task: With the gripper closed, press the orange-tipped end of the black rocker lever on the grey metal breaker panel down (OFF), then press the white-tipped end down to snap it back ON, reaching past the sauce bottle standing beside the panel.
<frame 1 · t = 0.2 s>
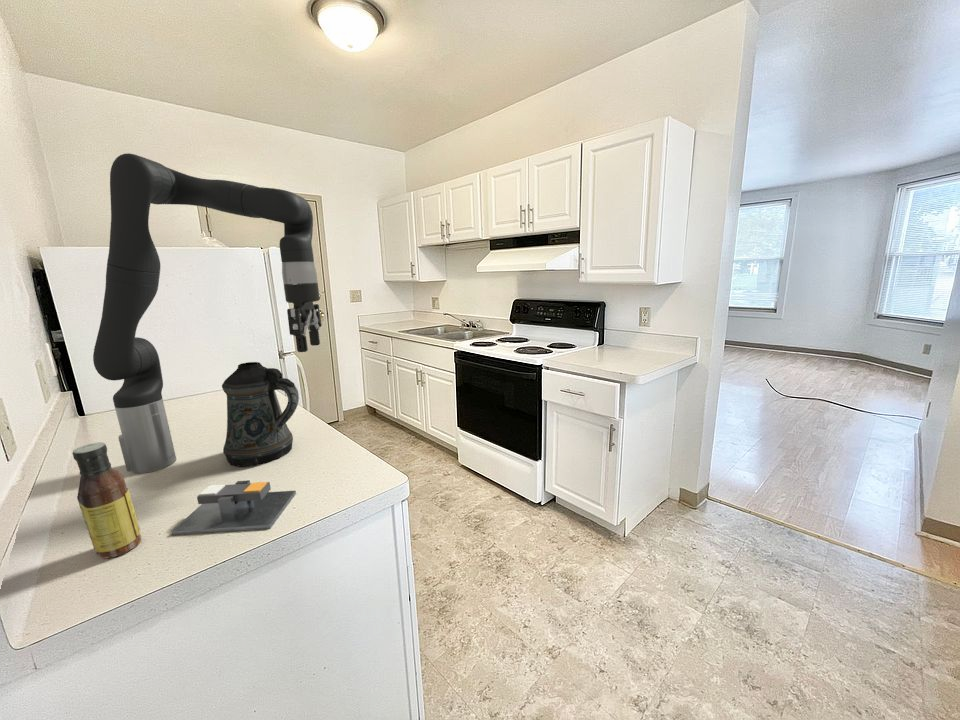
hand: (309, 348, 98), 29 cm above the counter, fingers open, 8 cm apart
beer stein: (267, 452, 108), on the counter
breaker panel: (238, 512, 80), on the counter
lever: (234, 492, 79), point 5 cm above the counter, hinge at 0.0°
sauce bottle: (120, 549, 70), on the counter
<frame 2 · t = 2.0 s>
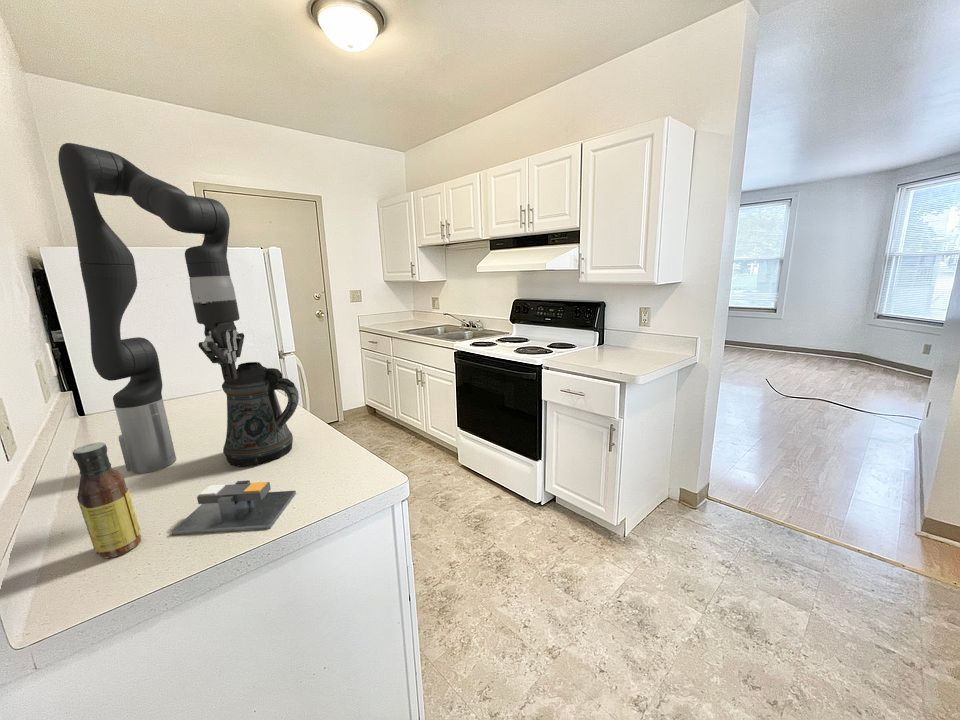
hand: (231, 380, 85), 25 cm above the counter, fingers closed
nothing on the counter moved.
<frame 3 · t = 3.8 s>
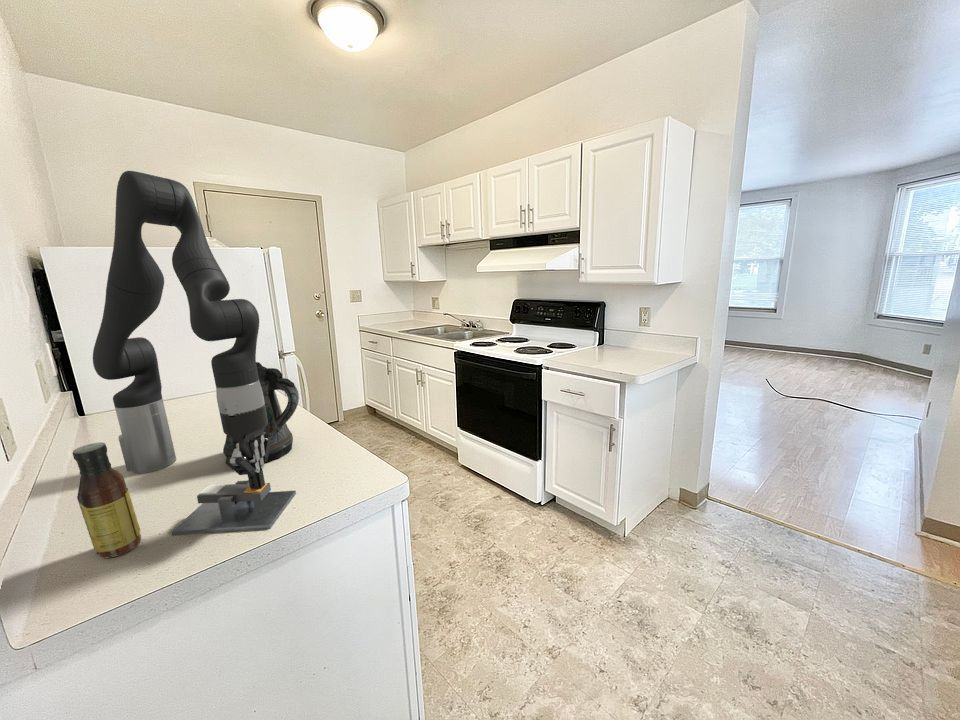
hand: (258, 487, 79), 5 cm above the counter, fingers closed
lever: (234, 492, 79), point 5 cm above the counter, hinge at 1.6°, touching gripper
everything else where it was.
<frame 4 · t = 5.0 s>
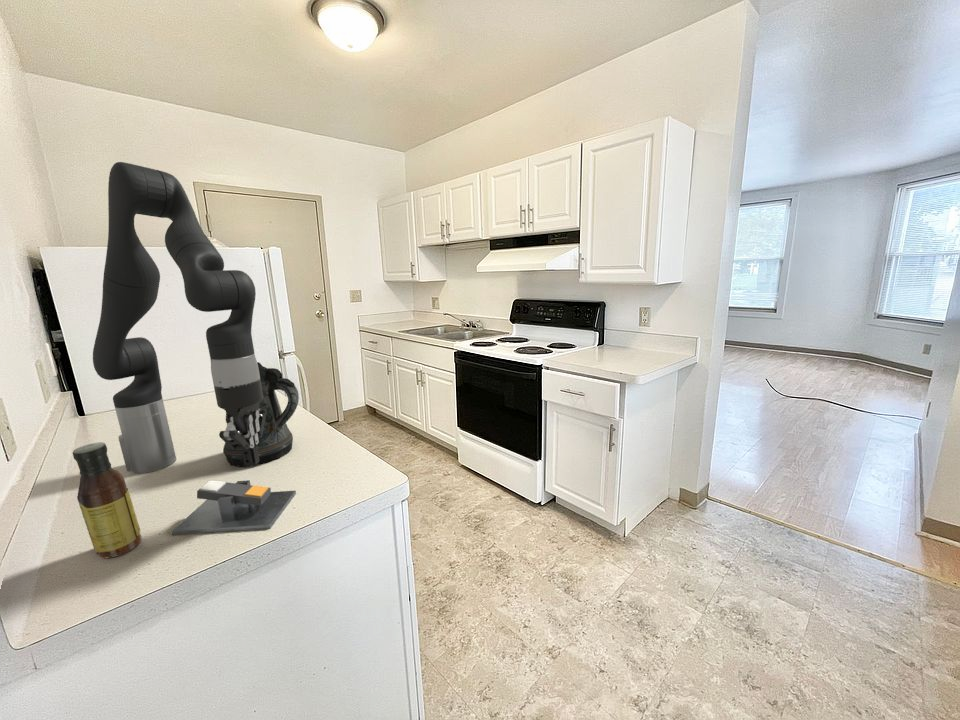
hand: (252, 464, 78), 10 cm above the counter, fingers closed
lever: (235, 492, 79), point 5 cm above the counter, hinge at 12.0°
everything else where it was.
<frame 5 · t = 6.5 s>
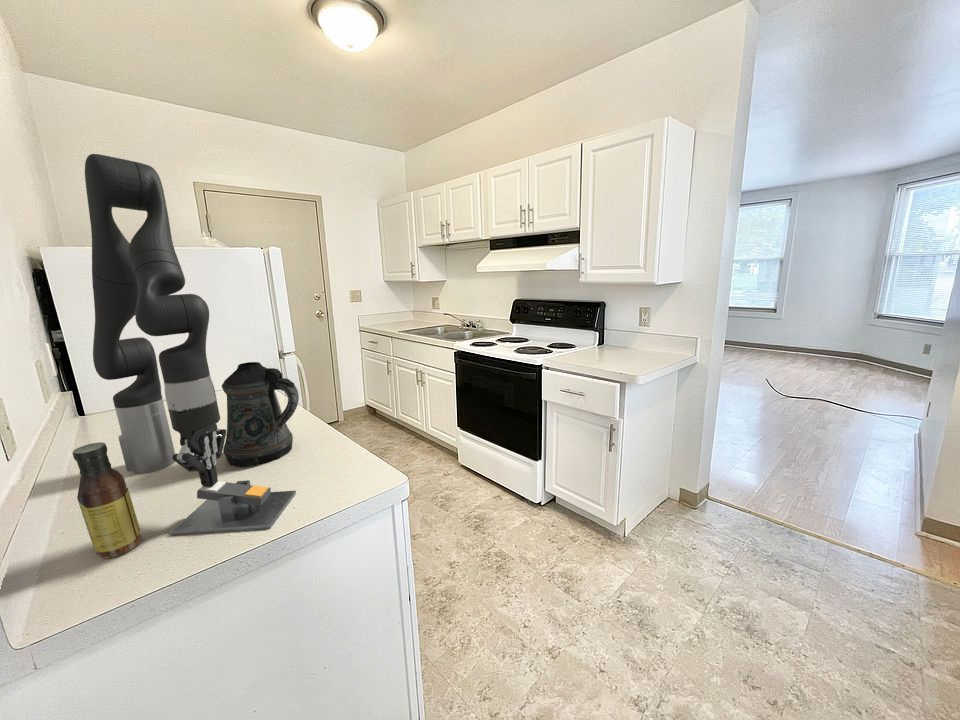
hand: (210, 484, 78), 7 cm above the counter, fingers closed
lever: (235, 492, 79), point 5 cm above the counter, hinge at 12.1°, touching gripper
everything else where it was.
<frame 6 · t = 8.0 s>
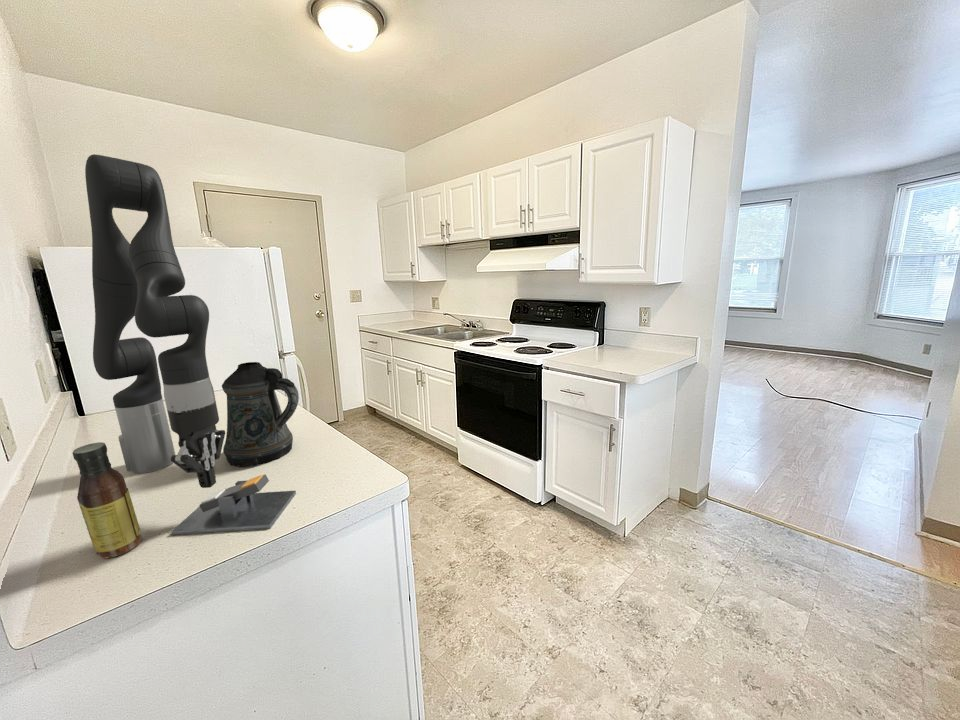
hand: (208, 485, 78), 6 cm above the counter, fingers closed
lever: (234, 492, 79), point 5 cm above the counter, hinge at -18.0°
everything else where it was.
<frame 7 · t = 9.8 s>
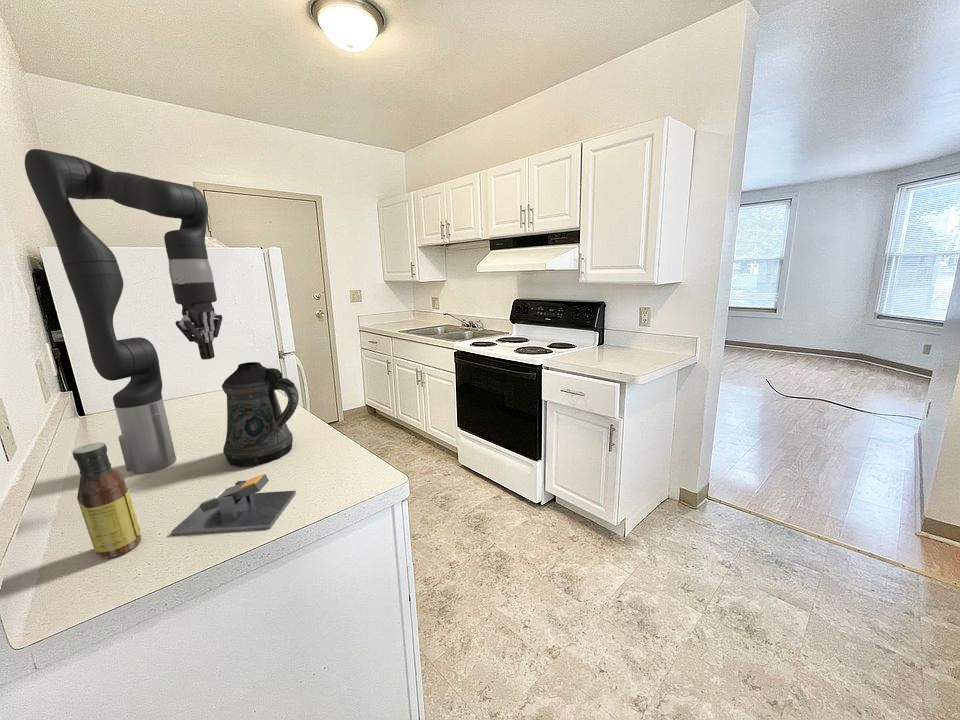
hand: (208, 358, 89), 29 cm above the counter, fingers closed
lever: (234, 492, 79), point 5 cm above the counter, hinge at -18.3°
everything else where it was.
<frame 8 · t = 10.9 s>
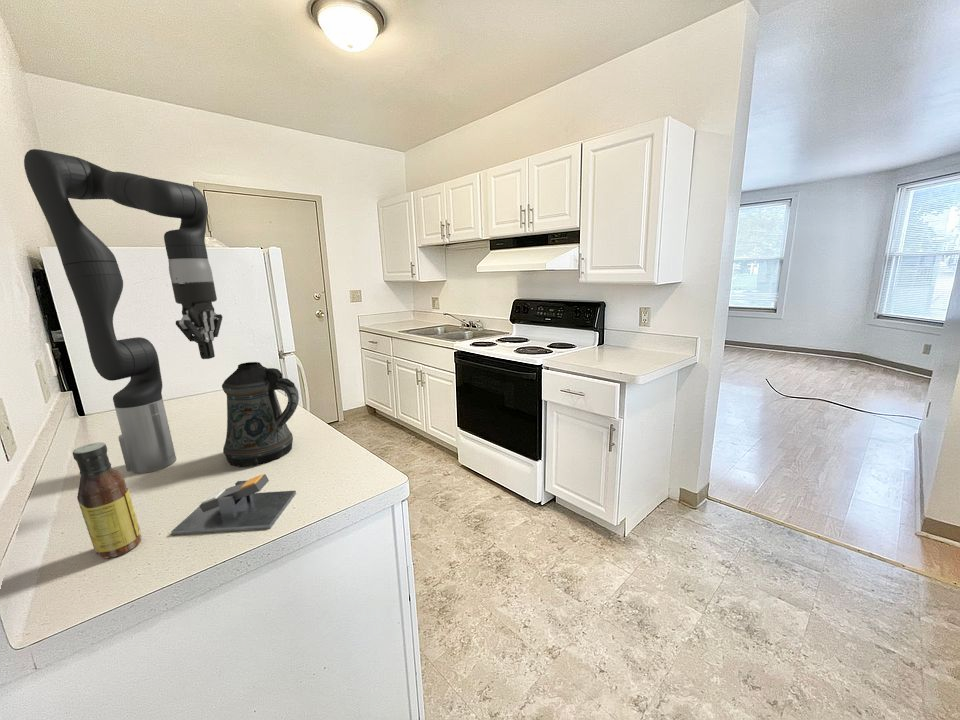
hand: (208, 358, 90), 29 cm above the counter, fingers closed
nothing on the counter moved.
at the end: lever at -18° (first picture: +0°); sauce bottle moved 0.2 cm from its start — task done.
